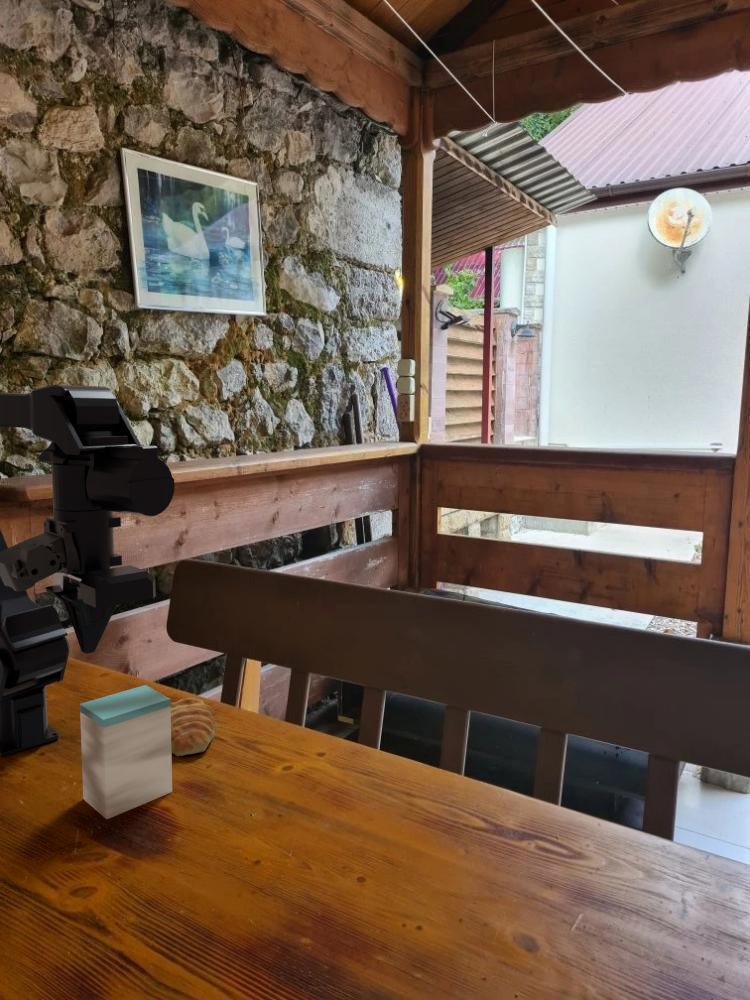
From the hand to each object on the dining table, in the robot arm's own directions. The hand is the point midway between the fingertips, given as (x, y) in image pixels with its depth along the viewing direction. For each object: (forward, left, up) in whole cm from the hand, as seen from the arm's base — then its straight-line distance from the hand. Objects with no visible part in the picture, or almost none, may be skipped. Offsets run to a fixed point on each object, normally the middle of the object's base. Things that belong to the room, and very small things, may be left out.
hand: (88, 652), depth 76 cm
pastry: (+1, +11, -13) cm, 18 cm away
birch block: (+8, 0, -13) cm, 15 cm away
